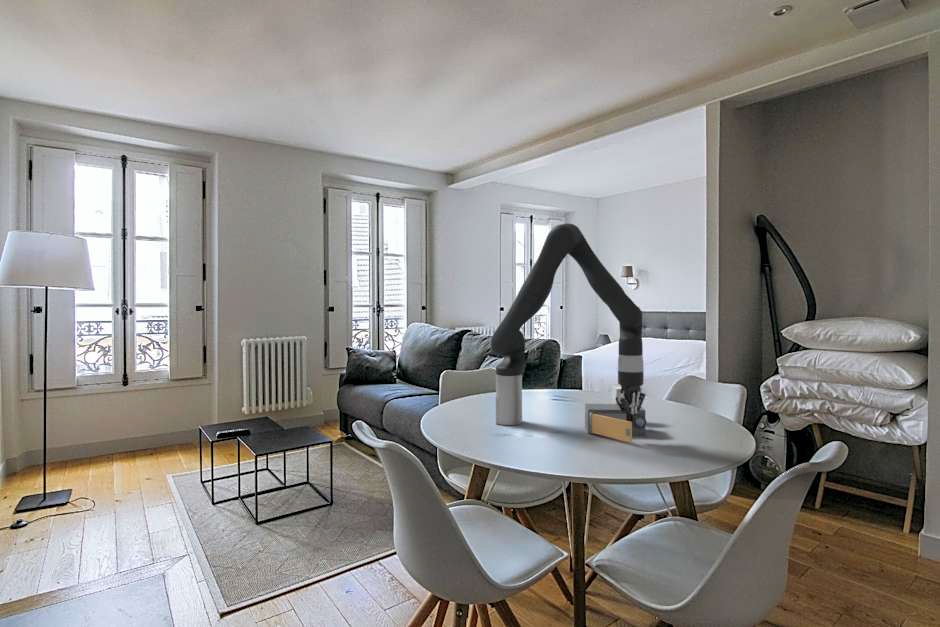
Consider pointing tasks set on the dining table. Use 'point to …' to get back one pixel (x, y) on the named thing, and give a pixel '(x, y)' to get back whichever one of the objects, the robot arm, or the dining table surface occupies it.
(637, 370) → the robot arm
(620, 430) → the door
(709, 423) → the dining table surface
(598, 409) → the camera body
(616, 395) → the skincare box
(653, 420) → the dining table surface
